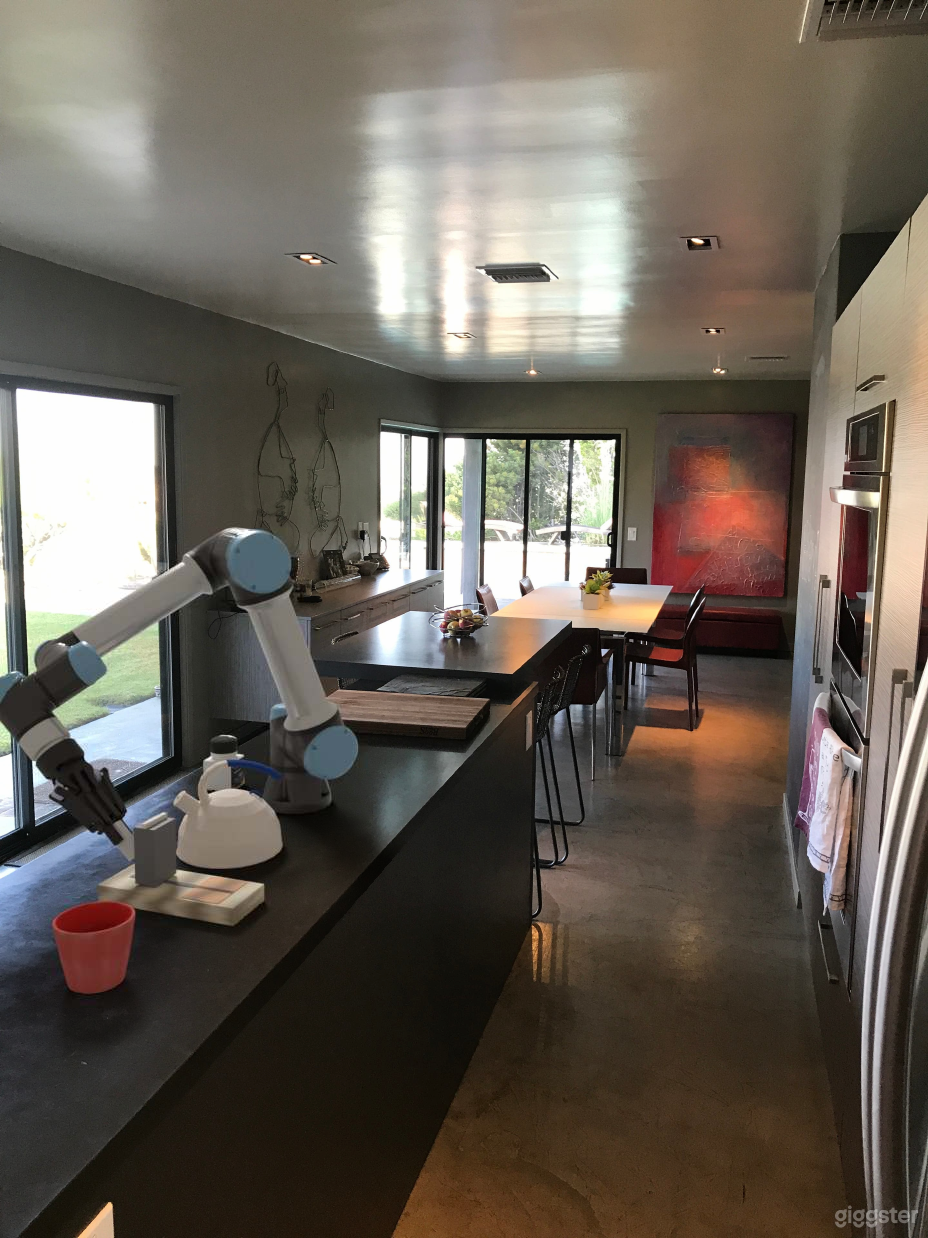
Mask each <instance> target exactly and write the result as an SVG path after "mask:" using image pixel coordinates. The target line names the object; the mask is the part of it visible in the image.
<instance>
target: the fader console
mask: <svg viewBox="0 0 928 1238" xmlns="http://www.w3.org/2000/svg"><path fill="white" fill-rule="evenodd" d="M97 891H98V892H97V895H98V896H97V897H98V898H97V900H98V901H97V902H100V901H114V902H121V903H125V904H128V905H130V906H131V907H133V908H134V909H136V910H142V911H143V910H144V911H148V912H154V913H159V914H165V915H170V916H174V917H182V918H186V919H192V920H198V921H203V922H209V923H215V924H221V925H226V926H231V927H234V926H235V925H236V924H238V923H239V922H240V921H241V920H242V919H244V918H245V917H246V916H247V915H249V914H250V913H251V912H252V911H253V910H255V909H256V908H257V907H258V906H259V904H260V905H261V904H262V903H263V902H264V901H265V884H264V883H260V882H254V881H248V880H247V881H246V880H242V879H235V878H229V877H223V876H217V875H212V874H211V875H210V874H206V873H205V874H204V873H200V872H199V873H198V872H194V871H193V872H192V871H186V870H181V869H176V874H175V875H173V876H172V877H170V878H169V879H167V880H166V881H164V882H163V883H161V884H159V885H158V886H156V887H152V886H146V885H140V884H135V862H134V863H132V864H131V865H129V866H128V867H126V868H124V869H122V870H121V871H118V872H117V873H115V874H114V875H113V876H110V877H109V878H107V879H105V880H103V881H102V882H100V883H99V884H97ZM254 908H255V909H254ZM244 916H245V917H244Z"/></svg>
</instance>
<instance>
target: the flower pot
mask: <svg viewBox="0 0 928 1238" xmlns="http://www.w3.org/2000/svg"><path fill="white" fill-rule="evenodd" d="M135 921H136V909H135V908H133V907H131V906H130V905H128V904H125V903H121V902H114V901H100V902H98V901H94V902H88V903H86V902H85V903H82V904H78V905H76V906H72V907H71V908H68V909H66V910H63V911H62V912H61V913H59V914H58V915H57V916H55V917H54V919H53V921H52V923H51V925H52V929H53V935H54V939H55V943H56V947H57V951H58V955H59V959H60V963H61V967H62V969H63V970H62V971H63V975H64V977H65V980H66V981H65V982H66V984H67V987H68V989H69V990H70V991H73V992H74V993H77V994H78V993H79V994H86V995H87V994H97V993H103V992H106V991H109V990H111V989H114V988H116V987H117V986H118V985H120V984H121V983H122V982H123V981H124V979H125V977H126V974H127V968H128V963H129V958H130V952H131V948H132V947H131V946H132V940H133V935H134V929H135V928H134V927H135V926H134V925H135Z"/></svg>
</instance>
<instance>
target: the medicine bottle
mask: <svg viewBox="0 0 928 1238" xmlns="http://www.w3.org/2000/svg"><path fill="white" fill-rule="evenodd" d="M224 760H245V755H244V754H240V753H238V738H237V737H235V736H233V735H229V734H227V735H225V734H222V735H217V736H215V737H212V738H211V739H210V756H209V757H208V758H205V759H204V760H203V761H202V762H203V774H204V773H205V771H206V770H207V769H208V768H209V767H211V766H212V765H214V764H215V763H218V762H221V761H224ZM245 779H246V778H245V767H225V768H222V769H219V770H218V771H216V772H215V773H213V775H212V776H211V777H210V779H209V780H208V784H207V791H212V790H215V791H214V792H216V791H220V790H224V789H238V788H240V787H241V786H243V785H244V784H245Z"/></svg>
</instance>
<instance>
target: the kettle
mask: <svg viewBox="0 0 928 1238" xmlns="http://www.w3.org/2000/svg"><path fill="white" fill-rule="evenodd" d="M225 767H244V768H248V769H252V770H255V771H259V772H262V773H265V774H266V775H268V776H269V775H270V776H271V777H272V778H273V779H280V778H281V777H282V775H281V774H279V773H278V772H277V771H275V770H274V769H272V768H271V766H268V765H265V764H263V763H261V762H256V761H251V760H245V759H244V760H224V761H221V762H218V763H215V764H214V765H212V766H211V767H209V768H208V769H207V770H206V771H205V773H204V772H203V774H202V775H201V776H200V779H199V782H198V785H197V796H198V799H199V800H197V799H196V798H195V797H193V796H191V795H190V794H189V793H187V792H186V790H182V791H181V792H179V793H178V794H177V796H176V797H175V799H174V800H173V806H174V807H176V808H177V809H179V810H180V811H181V812H183V813H185V815H184V817H183V819H182V820H181V823H180V826H179V828H178V832H177V833H178V836H177V846H176V857H178V858H179V860H180V861H182V862H184V863H185V864H187V865H190V866H194V867H198V868H203V869H204V868H205V869H210V870H211V869H214V870H215V869H217V870H218V869H219V870H222V869H227V870H228V869H238V868H244V867H249V866H255V865H257V864H260V863H265V862H266V861H268V860H269V859H272V858H274V857H275V856H276V855H277V854H279V853H280V852H281V851H282V848H283V841H282V831H281V830H282V829H281V823H280V820H279V819H278V817H277V814H276V812H274V810H273V809H272V808H271V807H270V806H269V805H268V804H267V803H266V802H265V801H264V800H263V793H261V792H260V791H259V790H254V789H253V790H250V791H248V790H244V789H238V788H237V789H224V790H220V791H212V792H211V793H208V790H207V784H208V780H209V779H210V777H211V776H212V775H213V773H215V772H216V771H218V770H219V769H222V768H225ZM257 794H258V795H257Z"/></svg>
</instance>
